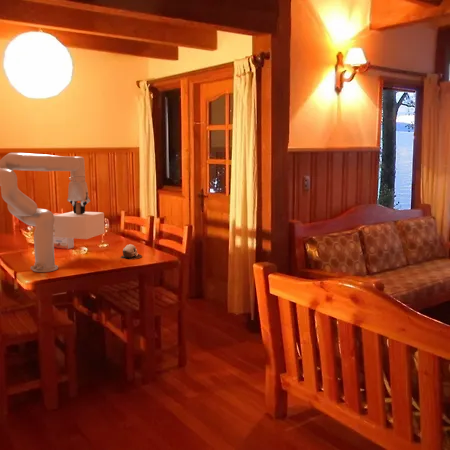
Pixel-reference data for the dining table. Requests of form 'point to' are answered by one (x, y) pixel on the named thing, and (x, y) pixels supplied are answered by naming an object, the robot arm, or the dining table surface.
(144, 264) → the dining table surface
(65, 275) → the dining table surface
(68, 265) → the dining table surface
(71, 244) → the cracker box
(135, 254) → the skull
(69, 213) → the cover
